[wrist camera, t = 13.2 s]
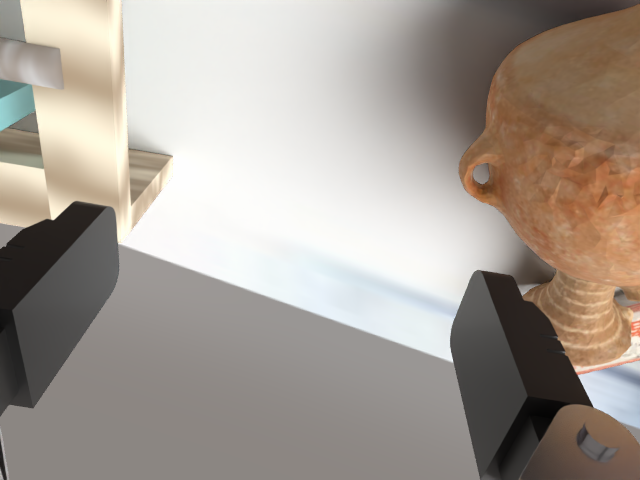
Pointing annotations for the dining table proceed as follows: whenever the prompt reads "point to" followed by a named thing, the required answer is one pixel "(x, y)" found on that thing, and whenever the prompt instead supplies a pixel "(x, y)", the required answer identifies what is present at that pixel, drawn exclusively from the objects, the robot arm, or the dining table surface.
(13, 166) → the shelf
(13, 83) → the teal arch block
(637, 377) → the dining table surface
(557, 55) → the orange-brown rounded sculpted piece
